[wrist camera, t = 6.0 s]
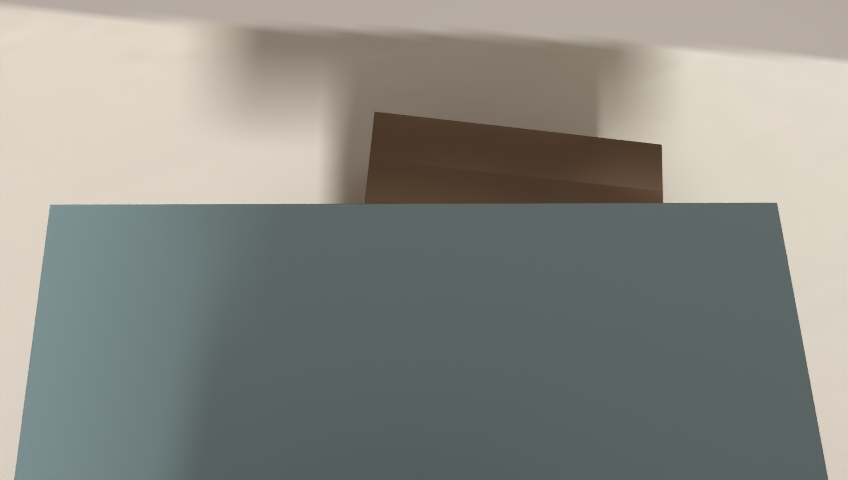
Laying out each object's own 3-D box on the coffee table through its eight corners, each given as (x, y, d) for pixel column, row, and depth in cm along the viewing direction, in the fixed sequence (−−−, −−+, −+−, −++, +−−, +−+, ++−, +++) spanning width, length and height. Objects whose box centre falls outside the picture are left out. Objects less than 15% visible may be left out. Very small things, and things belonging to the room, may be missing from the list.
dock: (596, 453, 22) (668, 483, 16) (346, 435, 21) (336, 460, 16) (597, 192, 24) (661, 144, 19) (374, 168, 23) (374, 112, 18)
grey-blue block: (518, 556, 14) (946, 1121, 4) (270, 572, 14) (-94, 1310, 3) (500, 266, 16) (752, 67, 5) (280, 269, 15) (71, 52, 5)
